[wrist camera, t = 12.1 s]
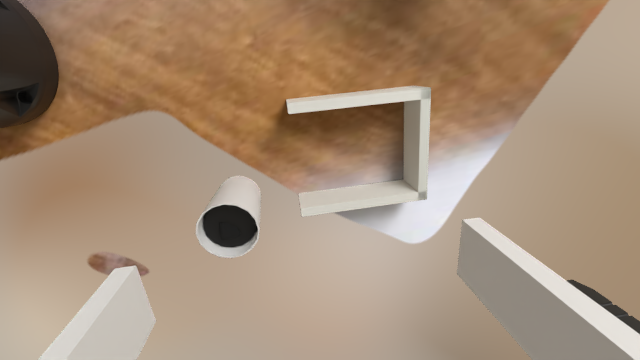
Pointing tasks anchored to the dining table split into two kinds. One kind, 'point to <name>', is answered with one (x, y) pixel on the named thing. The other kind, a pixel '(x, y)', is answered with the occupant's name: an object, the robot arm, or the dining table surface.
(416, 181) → the u-shaped frame
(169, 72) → the dining table surface
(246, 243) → the white cup
